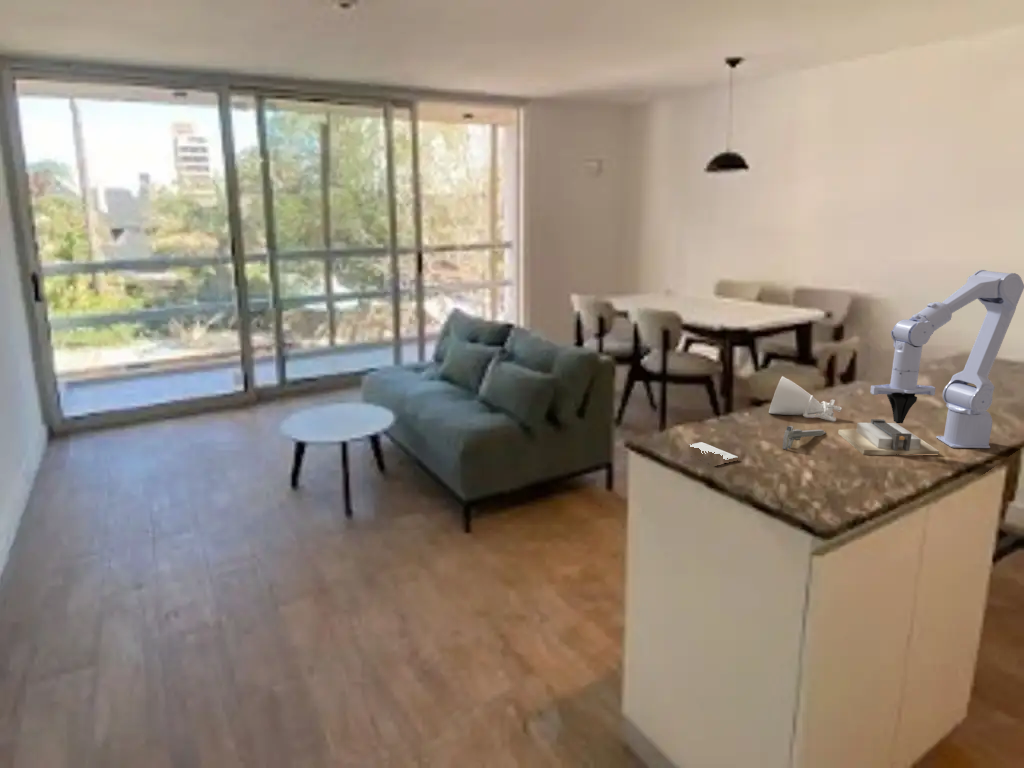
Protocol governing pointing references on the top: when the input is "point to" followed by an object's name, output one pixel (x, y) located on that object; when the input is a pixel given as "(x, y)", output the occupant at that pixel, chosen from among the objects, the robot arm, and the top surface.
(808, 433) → the caliper
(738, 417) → the top surface
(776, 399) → the rocket engine
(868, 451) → the base board
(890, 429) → the grey flat bar
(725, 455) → the external hard drive
